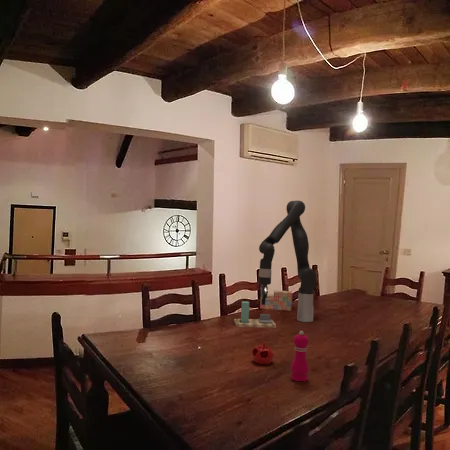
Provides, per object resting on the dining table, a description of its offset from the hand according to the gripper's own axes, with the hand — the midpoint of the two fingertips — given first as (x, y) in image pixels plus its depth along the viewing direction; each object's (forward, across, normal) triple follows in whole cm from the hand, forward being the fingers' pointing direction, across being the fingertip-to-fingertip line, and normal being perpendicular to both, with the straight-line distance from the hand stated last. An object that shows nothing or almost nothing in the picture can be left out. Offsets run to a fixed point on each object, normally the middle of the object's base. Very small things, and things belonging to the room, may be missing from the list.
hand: (263, 304), depth 270 cm
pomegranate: (+12, -68, +11) cm, 70 cm away
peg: (+11, -7, +12) cm, 17 cm away
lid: (+9, -7, 0) cm, 11 cm away
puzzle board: (+11, -7, +6) cm, 14 cm away
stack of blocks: (+11, +37, -15) cm, 42 cm away
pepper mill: (+11, -87, -1) cm, 88 cm away
